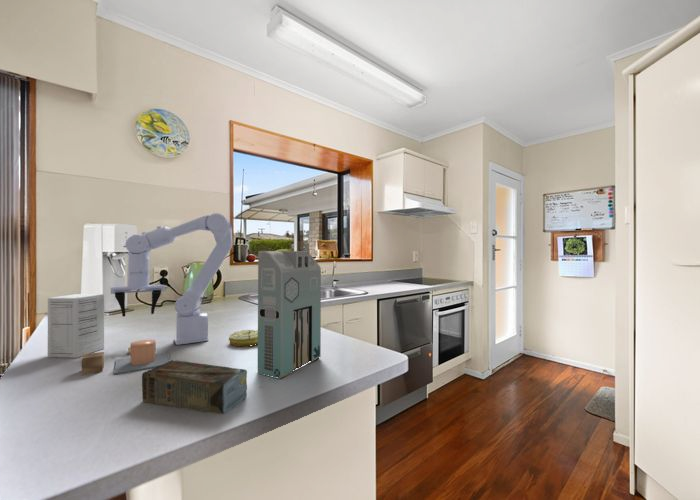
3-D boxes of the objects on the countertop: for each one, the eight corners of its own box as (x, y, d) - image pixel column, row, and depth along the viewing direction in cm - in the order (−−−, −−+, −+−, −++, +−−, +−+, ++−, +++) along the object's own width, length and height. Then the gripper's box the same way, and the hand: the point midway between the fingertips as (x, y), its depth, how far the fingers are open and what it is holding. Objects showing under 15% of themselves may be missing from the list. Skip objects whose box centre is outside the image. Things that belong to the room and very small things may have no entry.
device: (281, 379, 74) (282, 251, 74) (256, 373, 78) (257, 251, 78) (320, 359, 88) (321, 251, 89) (298, 355, 92) (299, 251, 92)
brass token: (140, 350, 96) (140, 345, 96) (140, 353, 93) (140, 347, 93) (128, 352, 94) (128, 347, 94) (128, 355, 92) (128, 349, 92)
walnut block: (103, 367, 82) (103, 351, 82) (102, 372, 79) (102, 355, 79) (83, 370, 80) (83, 354, 80) (81, 375, 76) (81, 358, 76)
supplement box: (105, 348, 98) (106, 293, 98) (76, 358, 88) (77, 297, 89) (77, 347, 99) (77, 293, 99) (45, 357, 89) (46, 297, 90)
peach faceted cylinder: (154, 356, 89) (154, 338, 89) (155, 362, 84) (156, 343, 84) (130, 360, 86) (130, 341, 86) (130, 366, 81) (130, 346, 81)
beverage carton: (223, 417, 57) (223, 380, 57) (138, 404, 62) (139, 370, 62) (248, 397, 65) (248, 365, 65) (171, 387, 70) (171, 357, 70)
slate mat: (167, 353, 93) (167, 351, 93) (170, 365, 83) (170, 363, 83) (116, 360, 87) (116, 359, 87) (113, 374, 77) (113, 372, 77)
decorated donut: (242, 338, 111) (242, 327, 111) (269, 340, 108) (269, 329, 108) (222, 346, 101) (222, 334, 101) (251, 349, 98) (251, 337, 98)
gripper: (110, 274, 96) (109, 319, 95) (165, 272, 104) (165, 314, 104) (111, 272, 101) (111, 315, 101) (164, 271, 110) (163, 311, 109)
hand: (138, 314), depth 103 cm, fingers open, 7 cm apart
